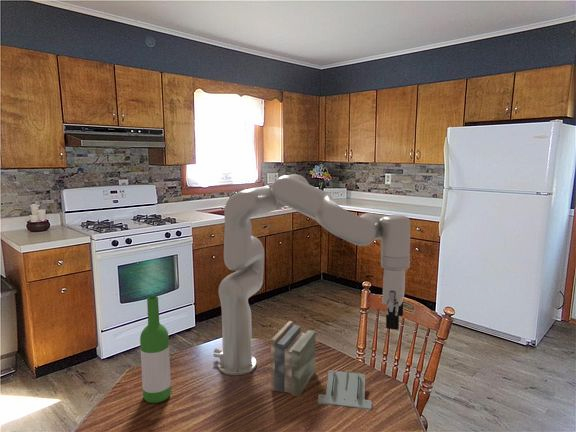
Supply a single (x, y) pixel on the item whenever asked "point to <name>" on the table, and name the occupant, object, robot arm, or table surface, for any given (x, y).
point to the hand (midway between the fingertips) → (394, 321)
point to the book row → (292, 359)
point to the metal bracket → (345, 390)
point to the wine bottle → (155, 356)
